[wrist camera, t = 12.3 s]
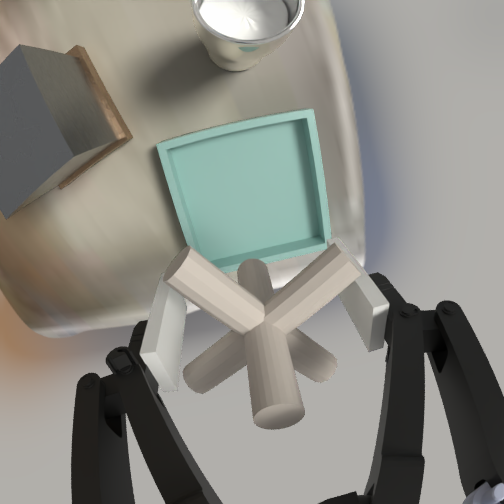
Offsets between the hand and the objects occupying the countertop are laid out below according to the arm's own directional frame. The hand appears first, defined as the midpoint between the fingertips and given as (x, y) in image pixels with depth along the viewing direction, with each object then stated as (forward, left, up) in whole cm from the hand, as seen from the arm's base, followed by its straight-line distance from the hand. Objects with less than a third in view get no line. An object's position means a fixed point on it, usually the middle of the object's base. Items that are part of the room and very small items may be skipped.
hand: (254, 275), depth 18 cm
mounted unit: (+3, -21, -17) cm, 28 cm away
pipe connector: (0, 0, -1) cm, 1 cm away
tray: (-1, +1, -17) cm, 17 cm away
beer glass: (-13, -10, -18) cm, 24 cm away
